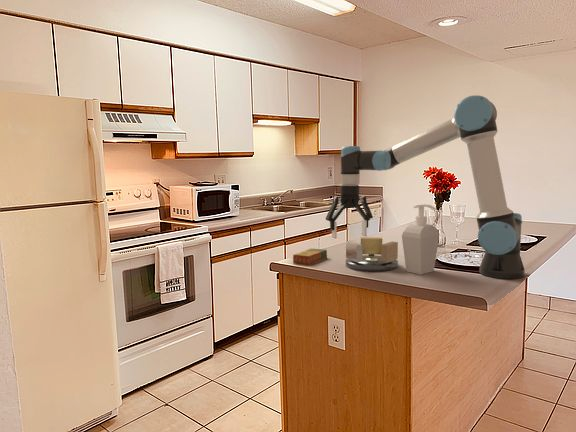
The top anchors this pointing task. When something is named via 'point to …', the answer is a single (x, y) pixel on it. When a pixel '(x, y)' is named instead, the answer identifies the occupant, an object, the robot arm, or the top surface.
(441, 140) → the robot arm
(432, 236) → the soap bottle
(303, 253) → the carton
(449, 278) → the top surface
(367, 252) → the olive yellow block
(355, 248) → the knob
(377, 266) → the dark grey plate
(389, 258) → the tan rectangular block
